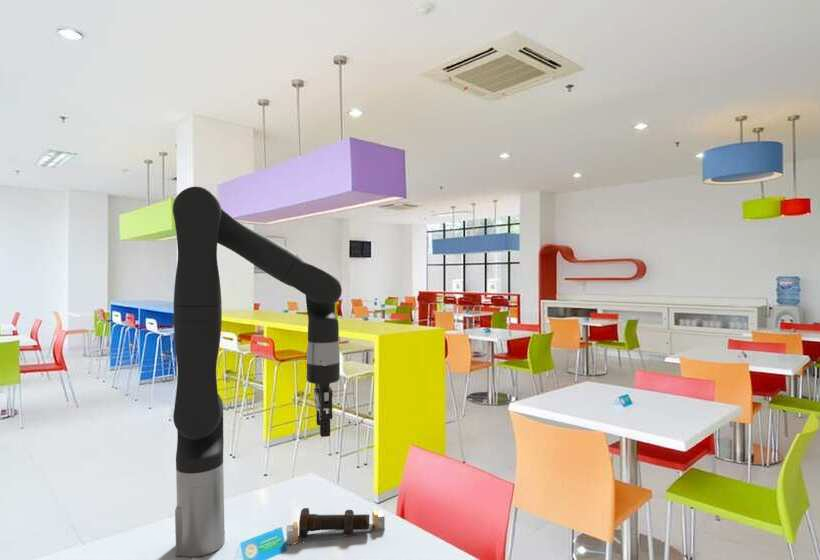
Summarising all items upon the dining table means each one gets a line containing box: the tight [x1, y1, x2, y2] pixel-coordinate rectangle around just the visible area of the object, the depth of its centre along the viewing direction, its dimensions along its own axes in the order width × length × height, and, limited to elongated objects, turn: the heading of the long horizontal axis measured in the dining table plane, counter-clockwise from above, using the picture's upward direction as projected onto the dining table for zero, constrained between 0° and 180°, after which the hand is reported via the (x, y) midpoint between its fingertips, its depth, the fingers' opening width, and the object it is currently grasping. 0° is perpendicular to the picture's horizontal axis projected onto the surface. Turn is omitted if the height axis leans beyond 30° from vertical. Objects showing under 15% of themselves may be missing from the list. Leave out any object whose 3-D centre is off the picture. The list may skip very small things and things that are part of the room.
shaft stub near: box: [286, 521, 299, 546], centre depth 108 cm, size 2×2×4 cm
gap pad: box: [298, 523, 376, 544], centre depth 111 cm, size 17×3×1 cm, turn 107°
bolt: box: [298, 507, 370, 538], centre depth 111 cm, size 6×5×15 cm
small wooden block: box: [371, 509, 386, 532], centre depth 113 cm, size 2×2×4 cm
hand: (323, 430), depth 116 cm, fingers open, 8 cm apart
